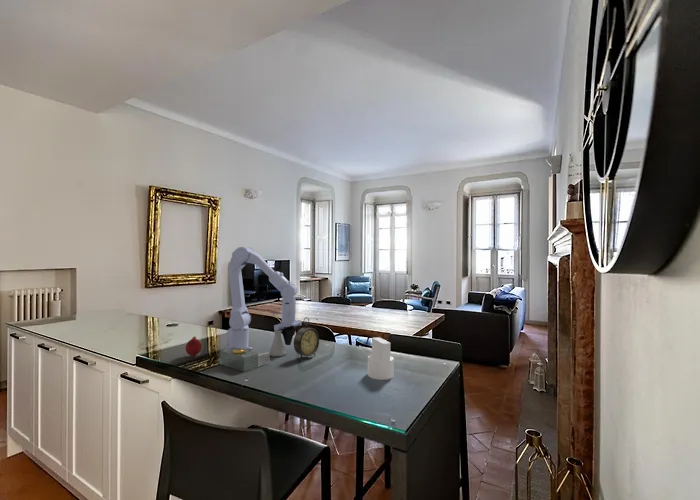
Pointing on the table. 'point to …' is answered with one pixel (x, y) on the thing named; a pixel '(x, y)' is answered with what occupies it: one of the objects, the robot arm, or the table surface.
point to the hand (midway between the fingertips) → (287, 344)
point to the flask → (277, 345)
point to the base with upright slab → (380, 360)
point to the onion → (193, 347)
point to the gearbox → (243, 358)
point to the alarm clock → (306, 341)
